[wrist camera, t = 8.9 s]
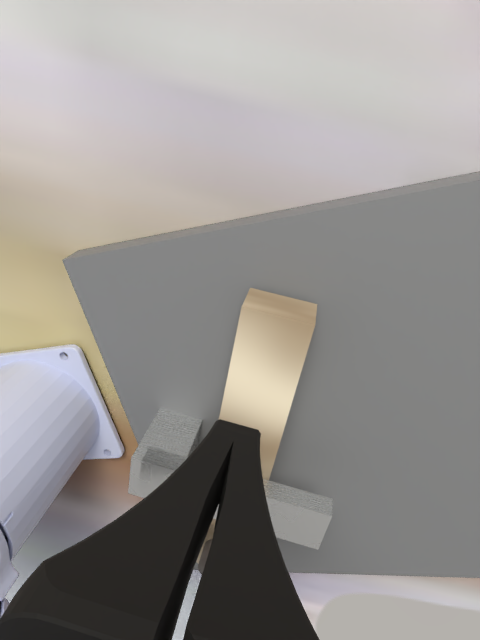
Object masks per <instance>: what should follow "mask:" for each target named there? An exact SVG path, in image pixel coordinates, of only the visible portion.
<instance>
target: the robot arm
mask: <svg viewBox="0 0 480 640" xmlns="http://www.w3.org/2000/svg"><path fill="white" fill-rule="evenodd" d="M64 352H65V353H66V354H67V355H68V356H66V355H65V354H64ZM260 437H261V433H260V432H259V430H257V429H254V428H250V427H246V426H243V425H239V424H236V423H232V422H228V421H225V420H221V419H219V420H217V421H216V422H215V423H214V425H213V427H212V428H211V430H210V431H209V433H208V434H207V435H206V437H205V438H204V439H203V440H202V442H201V443H200V444H199V445H198V447H197V448H196V449H195V450H194V451H193V452H192V453H191V454H190V456H189V457H188V458H187V459H186V460H185V461H184V462H183V463H182V464H181V465H180V466H179V467H178V468H177V469H176V470H175V471H174V472H173V473H172V474H171V475H170V476H169V477H168V478H167V479H166V480H165V481H164V482H163V483H162V484H161V485H160V486H158V487H157V488H156V489H155V490H154V491H153V492H151V493H150V494H149V495H148V496H147V497H145V498H144V499H143V500H142V501H140V502H139V503H138V504H137V505H135V506H134V507H133V508H131V509H130V510H128V511H127V512H126V513H124V514H123V515H122V516H120V517H119V518H117V519H116V520H114V521H113V522H112V523H110V524H108V525H107V526H105V527H104V528H102V529H100V530H99V531H97V532H96V533H94V534H92V535H91V536H89V537H88V538H86V539H84V540H82V541H81V542H79V543H77V544H75V545H73V546H72V547H70V548H68V549H66V550H64V551H62V552H60V553H58V554H56V555H54V556H52V557H51V558H49V559H47V560H45V561H43V562H42V563H41V564H40V566H39V567H38V568H37V569H36V570H35V571H34V572H33V573H32V574H31V576H30V577H29V578H28V579H27V580H26V582H25V583H24V584H23V585H22V587H21V588H20V589H19V590H18V592H17V593H16V595H15V596H14V598H13V599H12V601H11V602H10V604H9V602H8V600H7V599H6V598H4V597H5V596H6V594H7V593H8V591H9V590H10V588H11V587H12V585H13V584H14V582H15V581H16V579H17V578H18V576H19V573H18V572H17V570H16V569H15V568H14V567H13V565H12V563H11V561H12V560H13V558H14V557H15V555H16V554H17V552H18V551H19V550H20V548H21V547H22V545H23V544H24V542H25V541H26V540H27V538H28V537H29V535H30V534H31V533H32V531H33V530H34V528H35V527H36V525H37V524H38V523H39V521H40V520H41V518H42V517H43V515H44V514H45V513H46V511H47V510H48V508H49V507H50V505H51V504H52V503H53V501H54V500H55V498H56V497H57V495H58V494H59V493H60V491H61V490H62V488H63V487H64V485H65V484H66V483H67V481H68V480H69V478H70V477H71V475H72V474H73V473H74V471H75V470H76V468H77V467H78V465H79V464H80V463H81V461H82V460H85V459H107V458H120V457H121V456H122V455H123V453H124V451H125V450H124V447H123V444H122V442H121V440H120V437H119V435H118V433H117V430H116V428H115V426H114V424H113V421H112V419H111V417H110V414H109V412H108V410H107V407H106V405H105V403H104V400H103V398H102V396H101V393H100V391H99V389H98V386H97V384H96V382H95V379H94V377H93V375H92V372H91V370H90V368H89V365H88V363H87V361H86V358H85V356H84V354H83V351H82V350H81V348H80V347H78V346H77V345H73V344H71V345H63V346H55V347H48V348H40V349H32V350H25V351H17V352H9V353H1V354H0V640H172V636H173V633H174V630H175V626H176V623H177V619H178V616H179V613H180V609H181V606H182V602H183V599H184V596H185V592H186V589H187V586H188V583H189V580H190V577H191V574H192V571H193V568H194V566H195V563H196V561H197V558H198V556H199V553H200V550H201V548H202V545H203V543H204V540H205V538H206V535H207V533H208V530H209V528H210V525H211V522H212V520H213V517H214V515H215V512H216V510H217V507H218V512H217V517H216V523H215V528H214V533H213V539H212V543H211V546H210V550H209V553H208V557H207V560H206V563H205V567H204V570H203V573H202V577H201V580H200V583H199V587H198V590H197V593H196V596H195V600H194V603H193V606H192V610H191V613H190V616H189V619H188V623H187V626H186V630H185V635H184V639H183V640H319V638H318V636H317V634H316V632H315V631H314V629H313V627H312V625H311V623H310V621H309V619H308V617H307V615H306V612H305V610H304V608H303V606H302V604H301V602H300V599H299V597H298V595H297V593H296V590H295V588H294V585H293V583H292V580H291V578H290V575H289V573H288V570H287V568H286V565H285V563H284V560H283V557H282V554H281V551H280V548H279V545H278V542H277V539H276V535H275V532H274V529H273V525H272V521H271V517H270V513H269V509H268V504H267V500H266V495H265V489H264V483H263V477H262V469H261V458H260ZM218 504H219V506H218Z"/></svg>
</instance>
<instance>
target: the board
mask: <svg viewBox="0 0 480 640" xmlns="http://www.w3.org/2000/svg"><path fill="white" fill-rule="evenodd" d="M62 261H63V263H64V265H65V268H66V270H67V273H68V275H69V277H70V280H71V282H72V285H73V287H74V290H75V292H76V294H77V297H78V299H79V302H80V304H81V307H82V309H83V311H84V314H85V316H86V319H87V321H88V324H89V326H90V328H91V331H92V333H93V336H94V338H95V341H96V343H97V345H98V348H99V350H100V353H101V355H102V358H103V360H104V362H105V365H106V367H107V370H108V372H109V374H110V377H111V379H112V382H113V384H114V387H115V389H116V391H117V394H118V396H119V399H120V401H121V404H122V406H123V408H124V411H125V413H126V416H127V418H128V421H129V423H130V425H131V428H132V430H133V433H134V435H135V438H136V440H137V442H138V445H139V444H140V442H141V440H142V438H143V437H144V435H145V433H146V431H147V430H148V428H149V426H150V424H151V423H152V421H153V419H154V417H155V416H156V414H157V412H158V410H159V409H160V408H162V409H165V410H169V411H172V412H176V413H179V414H183V415H187V416H190V417H194V418H197V419H201V420H202V425H201V431H200V436H199V442H198V445H199V444H200V443H201V442H202V440H203V439H204V438H205V437H206V435H207V434H208V433H209V431H210V430H211V428H212V427H213V425H214V423H215V422H216V421H217V420H219V416H220V411H221V406H222V401H223V396H224V391H225V386H226V381H227V376H228V371H229V366H230V361H231V356H232V352H233V347H234V342H235V337H236V332H237V327H238V322H239V317H240V312H241V307H242V305H243V302H244V300H245V298H246V296H247V294H248V292H249V289H250V288H254V289H258V290H262V291H266V292H270V293H274V294H278V295H282V296H286V297H290V298H294V299H298V300H302V301H306V302H310V303H314V304H317V313H316V323H315V328H314V331H313V334H312V338H311V341H310V344H309V348H308V351H307V354H306V358H305V361H304V364H303V368H302V371H301V374H300V378H299V381H298V384H297V388H296V391H295V395H294V398H293V401H292V405H291V408H290V411H289V415H288V418H287V421H286V425H285V428H284V431H283V435H282V438H281V441H280V445H279V448H278V451H277V455H276V458H275V461H274V465H273V468H272V471H271V475H270V478H269V481H272V482H276V483H279V484H283V485H286V486H290V487H293V488H297V489H300V490H303V491H307V492H310V493H314V494H317V495H321V496H324V497H328V498H331V499H332V518H331V521H330V523H329V525H328V528H327V530H326V532H325V535H324V537H323V540H322V542H321V544H320V547H319V549H318V550H317V549H314V548H310V547H307V546H304V545H300V544H297V543H293V542H290V541H287V540H283V539H280V538H277V537H276V539H277V542H278V545H279V548H280V551H281V554H282V557H283V560H284V563H285V565H286V568H287V570H288V572H293V573H327V574H362V575H396V576H430V577H465V578H480V172H475V173H470V174H465V175H459V176H454V177H449V178H444V179H439V180H434V181H429V182H424V183H419V184H414V185H409V186H403V187H398V188H393V189H388V190H383V191H378V192H373V193H368V194H363V195H358V196H353V197H348V198H342V199H337V200H332V201H327V202H322V203H317V204H312V205H307V206H302V207H297V208H292V209H286V210H281V211H276V212H271V213H266V214H261V215H256V216H251V217H246V218H241V219H236V220H231V221H225V222H220V223H215V224H210V225H205V226H200V227H195V228H190V229H185V230H180V231H175V232H170V233H164V234H159V235H154V236H149V237H144V238H139V239H134V240H129V241H124V242H119V243H114V244H108V245H103V246H98V247H93V248H88V249H83V250H78V251H77V252H75V253H73V254H72V255H70V256H68V257H67V258H65V259H63V260H62ZM193 570H199V569H198V563H197V562H196V563H195V566H194V568H193Z"/></svg>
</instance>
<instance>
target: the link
mask: <svg viewBox="0 0 480 640" xmlns="http://www.w3.org/2000/svg"><path fill="white" fill-rule="evenodd" d="M316 313H317V304H314V303H310V302H306V301H302V300H298V299H294V298H290V297H286V296H282V295H278V294H274V293H270V292H266V291H262V290H258V289H254V288H250V289H249V292H248V294H247V296H246V298H245V300H244V302H243V305H242V307H241V312H240V317H239V322H238V327H237V332H236V337H235V342H234V347H233V352H232V356H231V361H230V366H229V371H228V376H227V381H226V386H225V391H224V396H223V401H222V406H221V411H220V416H219V419H221V420H225V421H228V422H232V423H236V424H239V425H243V426H246V427H250V428H254V429H257V430H259V432H260V433H261V437H260V458H261V469H262V477H263V479H265V480H269V478H270V475H271V471H272V468H273V465H274V461H275V458H276V455H277V451H278V448H279V445H280V441H281V438H282V435H283V431H284V428H285V425H286V421H287V418H288V415H289V411H290V408H291V405H292V401H293V398H294V395H295V391H296V388H297V384H298V381H299V378H300V374H301V371H302V368H303V364H304V361H305V358H306V354H307V351H308V348H309V344H310V341H311V338H312V334H313V331H314V328H315V323H316ZM215 523H216V519H213V520H212V522H211V525H210V528H209V530H208V533H207V535H206V538H205V540H204V543H203V545H202V548H201V550H200V553H199V556H198V558H197V561H196V562H197V563H198V569H199V571H200V573H201V574H202V573H203V570H204V567H205V563H206V560H207V557H208V553H209V550H210V546H211V543H212V539H213V533H214V528H215Z"/></svg>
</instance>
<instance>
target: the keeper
mask: <svg viewBox="0 0 480 640" xmlns="http://www.w3.org/2000/svg"><path fill="white" fill-rule="evenodd" d="M201 425H202V420H201V419H197V418H194V417H190V416H187V415H183V414H179V413H176V412H172V411H169V410H165V409H162V408H160V409H159V410H158V412H157V414H156V416H155V417H154V419H153V421H152V423H151V424H150V426H149V428H148V430H147V431H146V433H145V435H144V437H143V438H142V440H141V442H140V444H139V446H138V447H137V449H136V451H135V453H134V454H133V456H132V458H131V467H130V478H129V490H128V493H129V494H132V495H136V496H139V497H142V498H145V497H147V496H148V495H149V494H150V493H151V492H153V491H154V490H155V489H156V488H157V487H158V486H160V485H161V484H162V483H163V482H164V481H165V480H166V479H167V478H168V477H169V476H170V475H171V474H172V473H173V472H174V471H175V470H176V469H177V468H178V467H179V466H180V465H181V464H182V463H183V462H184V461H185V460H186V459H187V458H188V457H189V456H190V454H191V453H192V452H193V451H194V450H195V449H196V448H197V447H198V442H199V436H200V431H201ZM263 483H264V489H265V495H266V500H267V504H268V509H269V513H270V517H271V521H272V525H273V529H274V532H275V535H276V537H277V538H280V539H283V540H287V541H290V542H293V543H297V544H300V545H304V546H307V547H310V548H314V549H317V550H318V549H319V547H320V544H321V542H322V540H323V537H324V535H325V532H326V530H327V528H328V525H329V523H330V521H331V518H332V499H331V498H328V497H324V496H321V495H317V494H314V493H310V492H307V491H303V490H300V489H297V488H293V487H290V486H286V485H283V484H279V483H276V482H272V481H269V480H265V479H263ZM218 506H219V504H218ZM217 512H218V507H217V510H216V512H215V515H214V517H213V519H216V517H217Z"/></svg>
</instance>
